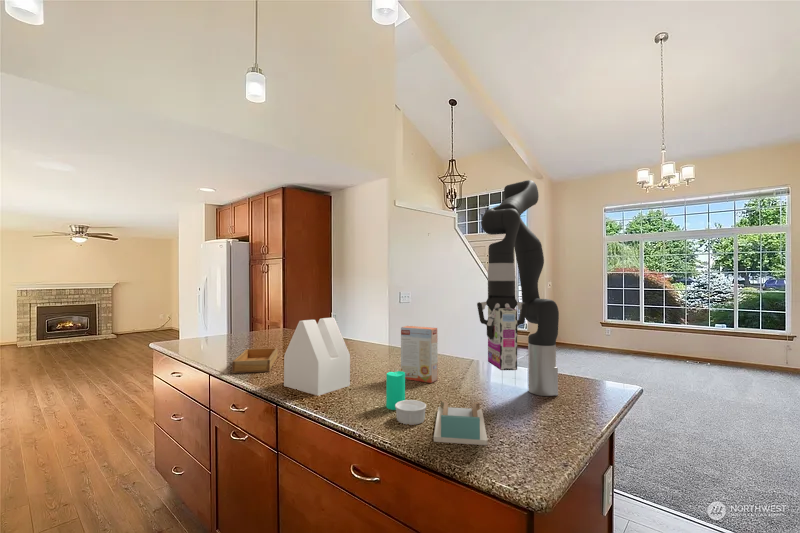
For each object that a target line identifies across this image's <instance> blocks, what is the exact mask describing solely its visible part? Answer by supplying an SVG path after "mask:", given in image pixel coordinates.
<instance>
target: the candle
mask: <svg viewBox="0 0 800 533" xmlns="http://www.w3.org/2000/svg"><path fill="white" fill-rule="evenodd" d="M385 379H386V381H385V382H386V384H385V386H386V391H385V396H386V400H385V408H386V409H388V410H391V411H396V408H395V404H396V403H397V402H400V401H403V400H406V379H405V372H403V371H401V370H398V371H397V370H396V371H389V372H387V373H386V378H385Z"/></svg>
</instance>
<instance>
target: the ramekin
mask: <svg viewBox="0 0 800 533" xmlns="http://www.w3.org/2000/svg"><path fill="white" fill-rule="evenodd" d="M395 408H396V410H395V412H396V421H397V422H399V423H400V424H402V423H403V424H402V425H407V424H409V426H411V425H414V424H415V425H420V424H421V423H423V422H424V421H425V419H426V418H425V417H426V409H427V404H426V403H425V402H423V401H421V400H416V399H405V400H403V401H400V402H397V403H396V404H395ZM415 425H414V426H415Z"/></svg>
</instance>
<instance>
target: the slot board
mask: <svg viewBox="0 0 800 533" xmlns="http://www.w3.org/2000/svg"><path fill="white" fill-rule="evenodd" d="M480 405H481V404H480V402H479V401H474V402H473V403H471V408H468V407H450V406H449V402H448V401H447V400H445V399H444V400H443V399H442V400H440V406H438V407H437V408H438V409H437V415H436V419H435V426H434V433H433V443H434V442H435V443H448V444H461V445H462V444H463V445H465V444H467V445H479V446H488V436H487V430H486V429H487V428H486V424H485V419H484V414H483V409H482V408H480V407H481V406H480Z"/></svg>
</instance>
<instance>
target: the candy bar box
mask: <svg viewBox="0 0 800 533" xmlns="http://www.w3.org/2000/svg"><path fill="white" fill-rule="evenodd" d="M490 312H491V310H490V308H489V307H488V306H487V319H488V318H489V315H490ZM493 315H494V314H493ZM517 320H518V309H515V308H514V309H510V308H496V309H495V318H494V320H493V322H492V324H491V325H492V339H489V337H488V336H487V362H488V363H489V364H491V365H492V366H494V367H495V368H497V369H498V370H499V371H518V327H517Z"/></svg>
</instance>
